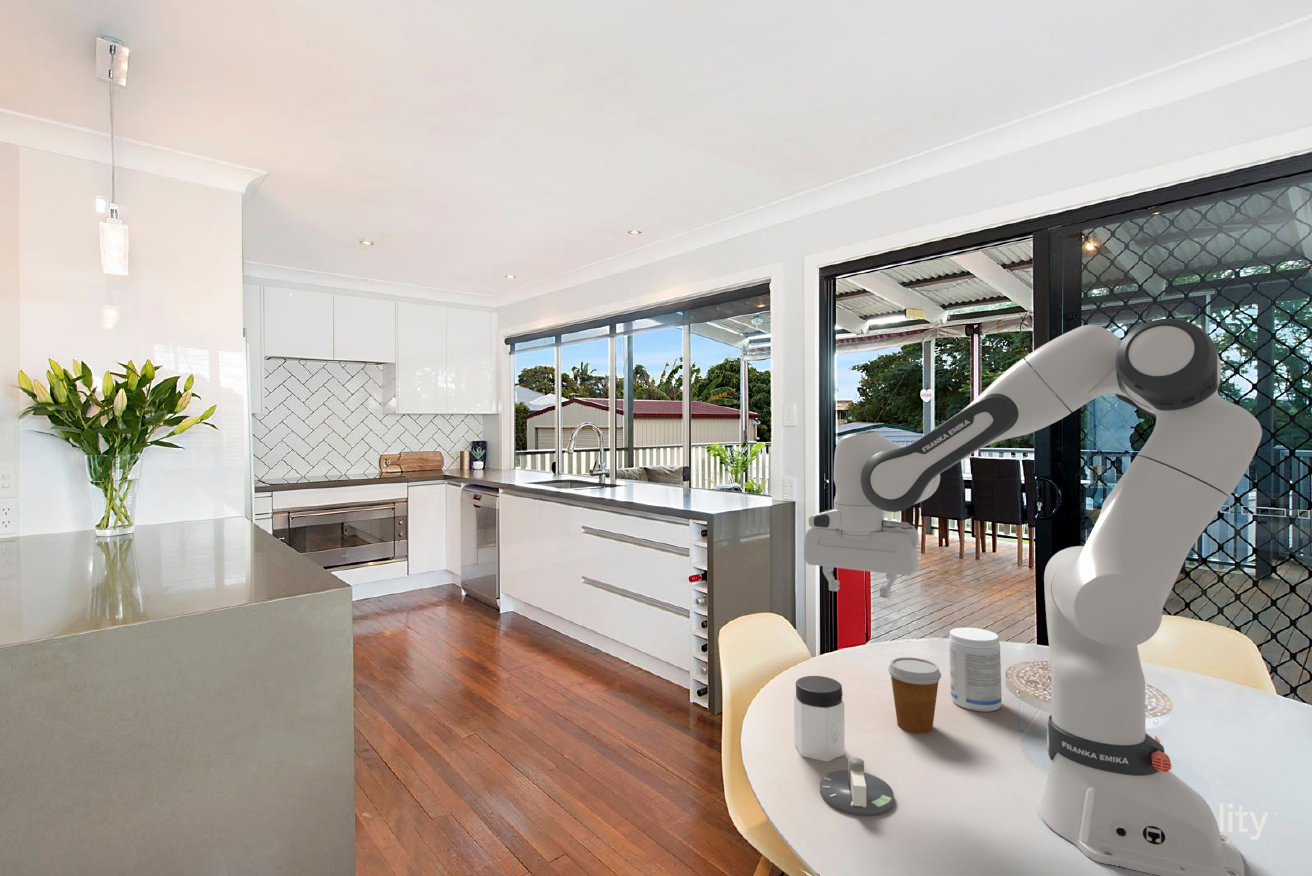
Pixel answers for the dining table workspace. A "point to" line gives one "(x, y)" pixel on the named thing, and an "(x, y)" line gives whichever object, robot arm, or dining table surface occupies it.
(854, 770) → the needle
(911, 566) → the robot arm
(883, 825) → the dining table surface
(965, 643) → the supplement tub
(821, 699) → the jar
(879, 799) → the dial
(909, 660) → the disposable coffee cup
